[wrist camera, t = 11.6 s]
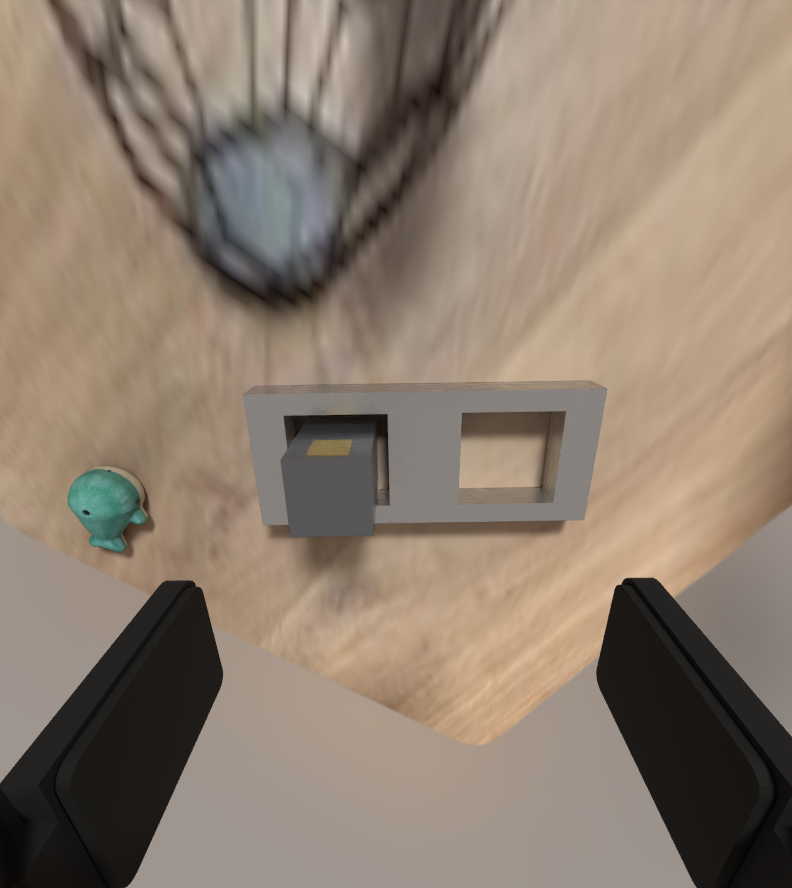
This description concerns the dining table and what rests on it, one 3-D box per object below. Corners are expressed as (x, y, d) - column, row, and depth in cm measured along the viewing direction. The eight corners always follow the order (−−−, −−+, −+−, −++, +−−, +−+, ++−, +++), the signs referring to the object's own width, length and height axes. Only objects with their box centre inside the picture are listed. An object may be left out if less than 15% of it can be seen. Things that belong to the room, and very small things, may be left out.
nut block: (376, 415, 30) (370, 458, 22) (378, 477, 32) (373, 536, 24) (308, 416, 30) (280, 459, 22) (314, 478, 32) (290, 537, 24)
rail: (590, 380, 29) (607, 388, 27) (570, 503, 32) (584, 520, 30) (255, 385, 29) (242, 394, 27) (272, 508, 32) (263, 525, 30)
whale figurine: (160, 473, 32) (131, 496, 28) (151, 548, 34) (123, 578, 30) (83, 452, 31) (43, 473, 27) (79, 530, 33) (42, 559, 30)
